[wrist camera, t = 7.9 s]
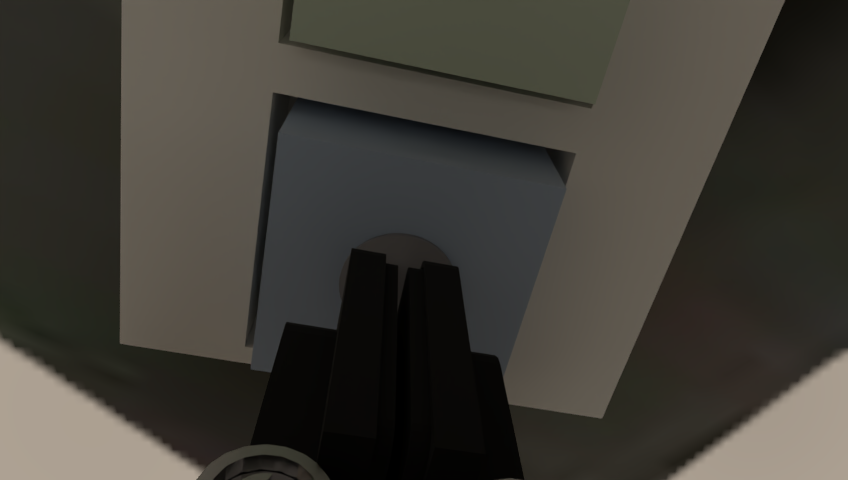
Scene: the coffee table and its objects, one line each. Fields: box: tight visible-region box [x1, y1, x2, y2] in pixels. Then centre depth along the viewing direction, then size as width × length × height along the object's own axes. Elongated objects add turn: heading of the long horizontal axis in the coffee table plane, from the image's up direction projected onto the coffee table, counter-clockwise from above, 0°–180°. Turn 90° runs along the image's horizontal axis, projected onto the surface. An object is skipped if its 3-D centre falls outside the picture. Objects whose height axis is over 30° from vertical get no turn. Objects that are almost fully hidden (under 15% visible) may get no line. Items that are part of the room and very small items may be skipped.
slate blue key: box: [251, 97, 567, 376], centre depth 12 cm, size 5×5×2 cm
